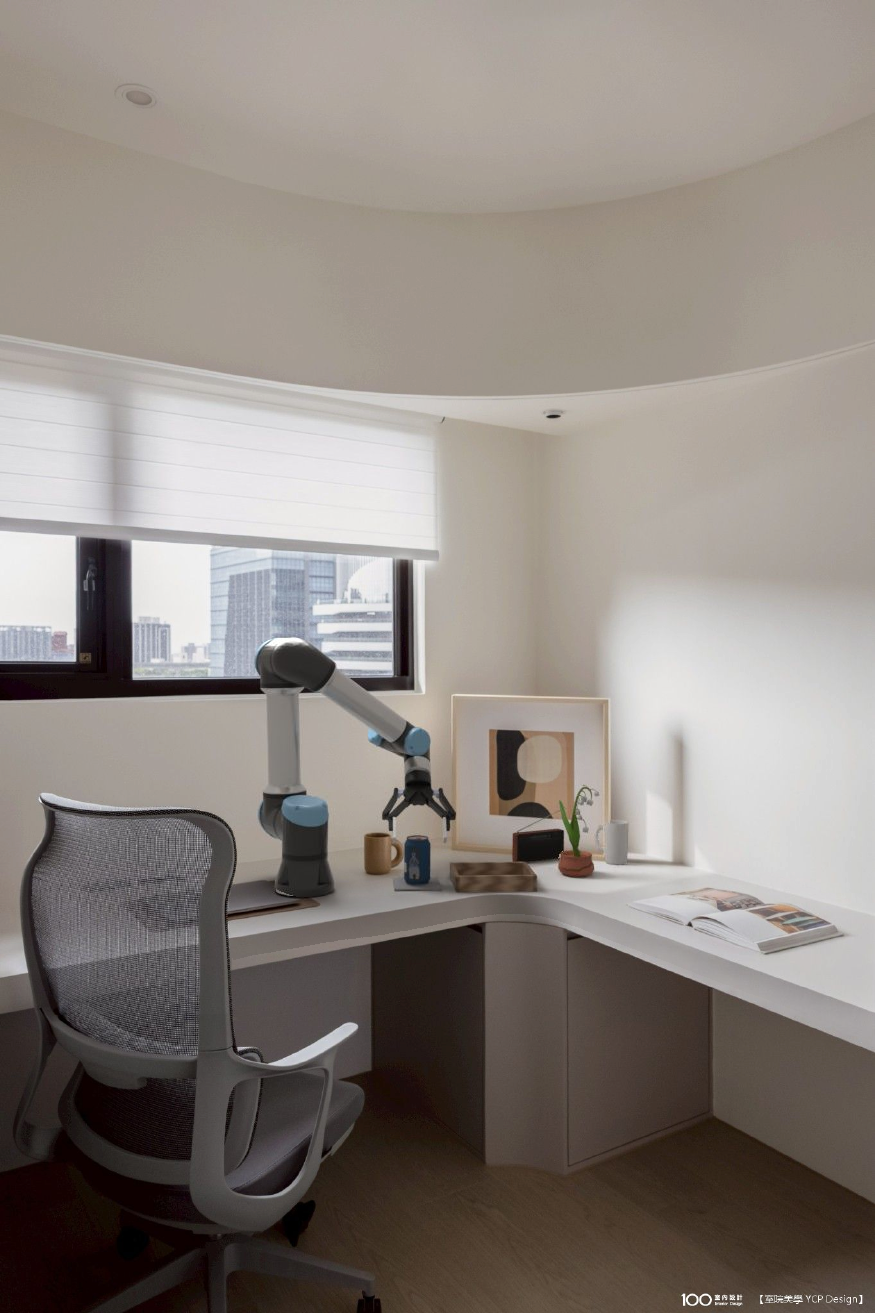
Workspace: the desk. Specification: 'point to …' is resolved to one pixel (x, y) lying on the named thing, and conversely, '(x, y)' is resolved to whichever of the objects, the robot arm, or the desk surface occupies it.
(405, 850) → the soda can
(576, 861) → the potted flower
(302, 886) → the robot arm
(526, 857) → the radio
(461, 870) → the walnut crate
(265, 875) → the desk surface
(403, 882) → the grey mat
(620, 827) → the mug
